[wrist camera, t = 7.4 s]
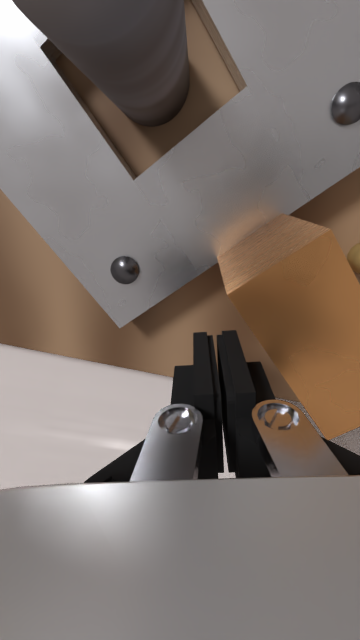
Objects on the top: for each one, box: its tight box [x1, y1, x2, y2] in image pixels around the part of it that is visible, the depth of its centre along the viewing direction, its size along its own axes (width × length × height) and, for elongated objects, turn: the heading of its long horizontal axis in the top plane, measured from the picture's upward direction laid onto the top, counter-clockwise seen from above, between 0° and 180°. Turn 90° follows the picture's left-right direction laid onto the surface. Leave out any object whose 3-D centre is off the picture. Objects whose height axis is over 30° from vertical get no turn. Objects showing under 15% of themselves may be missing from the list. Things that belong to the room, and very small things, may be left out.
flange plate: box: [0, 0, 360, 440], centre depth 10 cm, size 20×14×6 cm
